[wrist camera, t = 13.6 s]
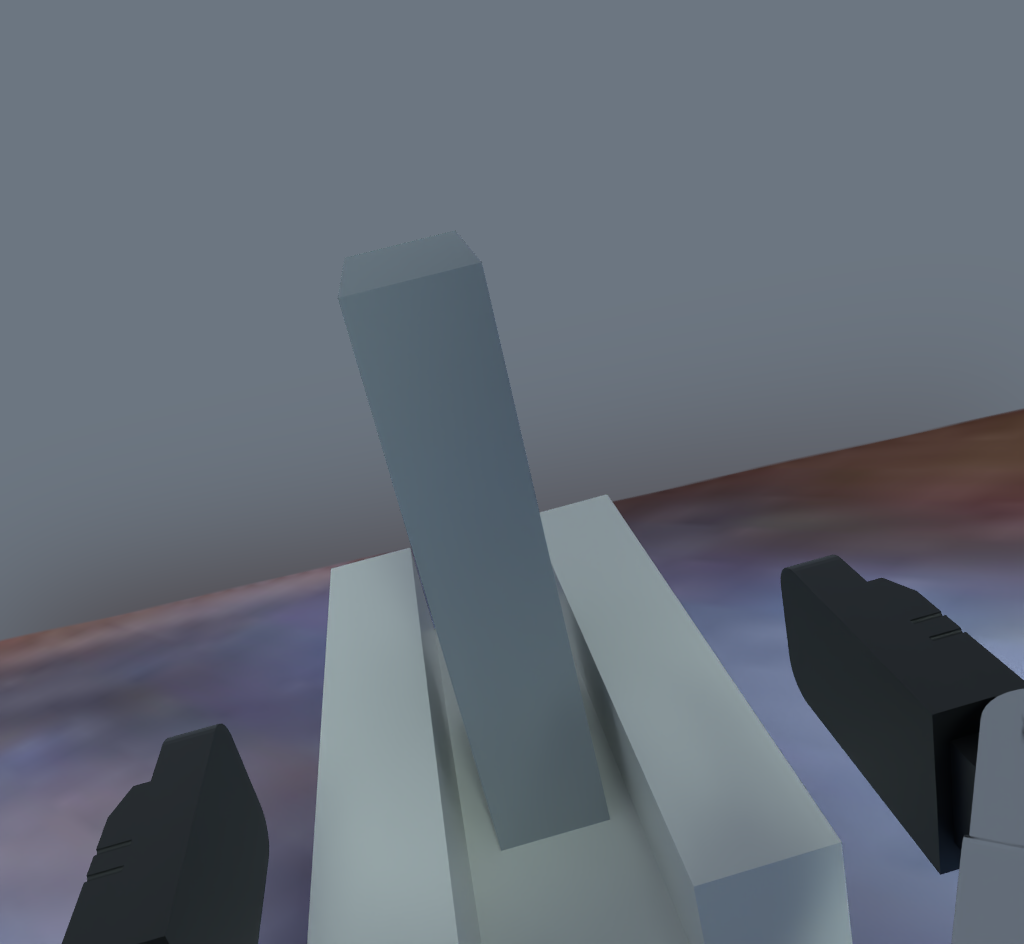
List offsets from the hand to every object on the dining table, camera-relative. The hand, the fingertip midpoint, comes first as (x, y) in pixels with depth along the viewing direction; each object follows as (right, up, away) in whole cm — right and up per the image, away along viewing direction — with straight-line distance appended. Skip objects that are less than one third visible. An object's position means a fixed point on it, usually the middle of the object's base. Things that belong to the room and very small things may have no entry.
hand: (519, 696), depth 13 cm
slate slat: (+1, -5, +14) cm, 15 cm away
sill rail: (+1, -7, +15) cm, 16 cm away
